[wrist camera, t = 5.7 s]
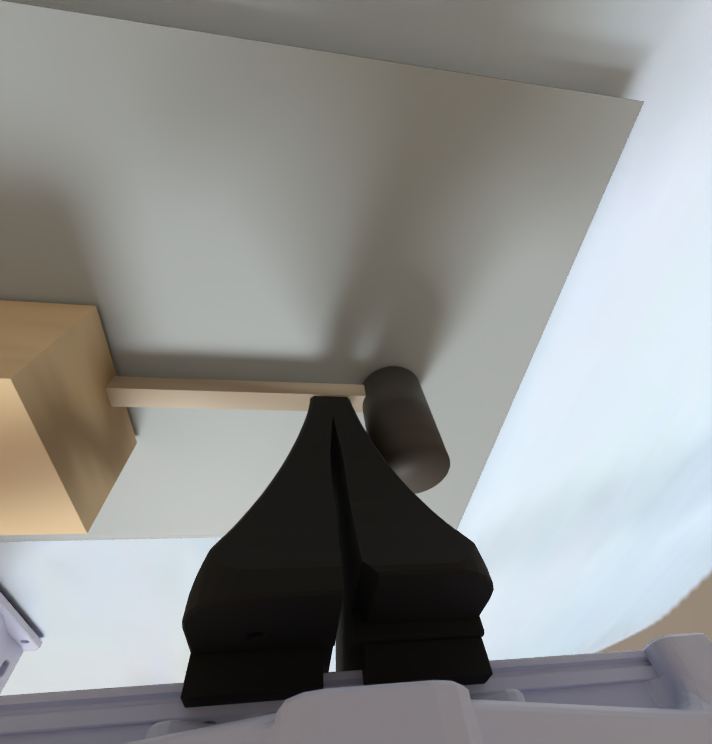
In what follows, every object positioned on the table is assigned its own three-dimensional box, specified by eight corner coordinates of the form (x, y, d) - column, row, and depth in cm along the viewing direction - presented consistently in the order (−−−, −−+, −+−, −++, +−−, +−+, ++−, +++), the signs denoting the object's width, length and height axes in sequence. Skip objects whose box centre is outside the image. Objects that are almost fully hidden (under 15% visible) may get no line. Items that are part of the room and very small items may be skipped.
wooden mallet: (405, 446, 17) (428, 527, 13) (-31, 440, 14) (-136, 538, 11) (436, 325, 13) (477, 393, 10) (-126, 292, 11) (-318, 368, 8)
